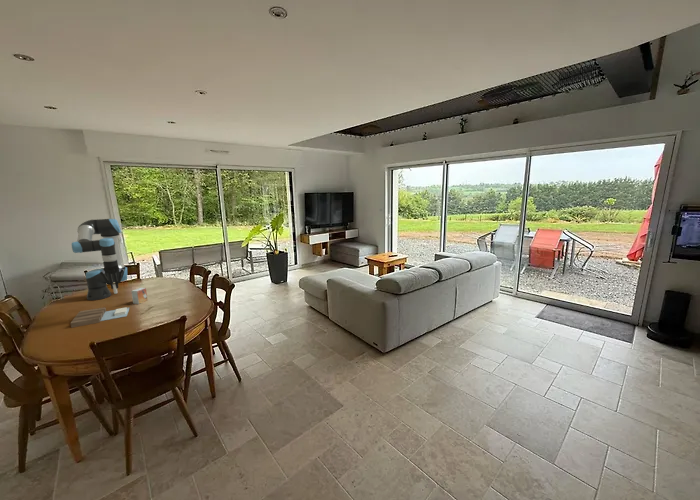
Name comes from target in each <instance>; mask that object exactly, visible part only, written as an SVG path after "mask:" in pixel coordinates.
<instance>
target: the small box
mask: <svg viewBox="0 0 700 500" xmlns="http://www.w3.org/2000/svg"><path fill="white" fill-rule="evenodd" d="M131 297H132V298H131V299H132V304H136V305H139V304H141V303H142V304H143V303H144V302H147V301H148V300H149V299H148V293H147V288H146V287H139V288H135V289H133V290H131Z"/></svg>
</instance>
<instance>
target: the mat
mask: <svg viewBox="0 0 700 500" xmlns="http://www.w3.org/2000/svg"><path fill="white" fill-rule="evenodd" d="M115 311H116V309H112V310H106V312H105V313H104V315H103V317H102V319H101V321H100V322H104V321H109V320H115V319H119V318H124V317H125V318H126V317H127V316H128V314H129V311H130V307H127V312H126V314H124V315H118V316H115V315H114V313H115Z"/></svg>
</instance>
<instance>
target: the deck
mask: <svg viewBox="0 0 700 500" xmlns="http://www.w3.org/2000/svg"><path fill="white" fill-rule="evenodd" d="M106 311H107V308H106V307H105V306H104V307H99V308H92V309H85V310H80V311H78V313H77V314H76V315H75V317H74V318H73V319H72V321H71V322H70V327H71V329H73V328H76V327H77V328H78V327H81V326H86V325H87V326H88V325H93V324H98V323H101V322H102V321H101V319H102V317H103V315H104V313H105V312H106Z"/></svg>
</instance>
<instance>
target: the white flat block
mask: <svg viewBox="0 0 700 500" xmlns="http://www.w3.org/2000/svg"><path fill="white" fill-rule="evenodd" d="M127 308H128V307H122V308H121V307H120V308H116V309H115V310H116V311H115V313H114V315H115V316H118V315H124V314H126V312H127Z"/></svg>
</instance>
